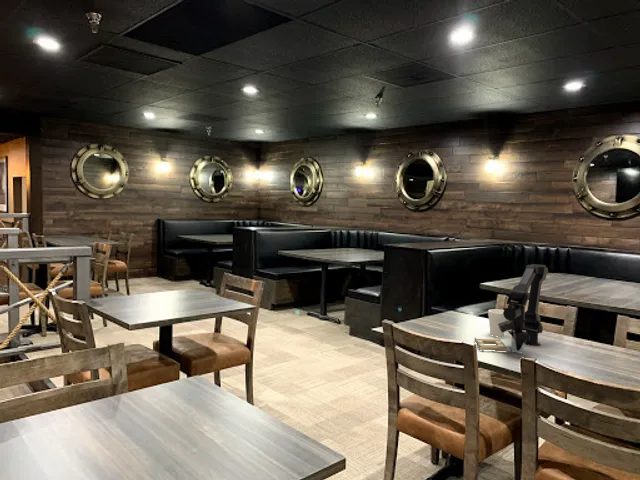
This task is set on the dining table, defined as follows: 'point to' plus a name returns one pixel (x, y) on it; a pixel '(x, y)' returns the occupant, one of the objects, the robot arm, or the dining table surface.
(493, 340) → the well
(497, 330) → the foam cup
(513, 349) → the grey and beige block
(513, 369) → the dining table surface
